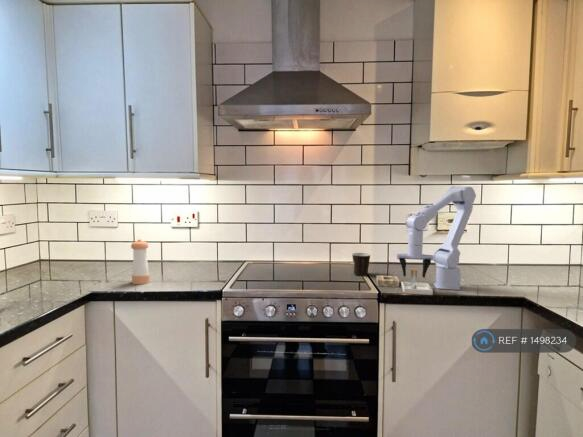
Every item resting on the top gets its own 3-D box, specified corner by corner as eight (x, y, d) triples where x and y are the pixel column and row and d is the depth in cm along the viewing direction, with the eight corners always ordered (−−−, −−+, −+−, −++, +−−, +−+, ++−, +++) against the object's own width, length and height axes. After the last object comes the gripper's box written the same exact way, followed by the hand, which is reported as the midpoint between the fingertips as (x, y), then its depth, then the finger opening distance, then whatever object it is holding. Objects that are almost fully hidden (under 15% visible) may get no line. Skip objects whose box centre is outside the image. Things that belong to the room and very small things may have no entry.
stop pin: (415, 288, 156) (416, 269, 156) (417, 289, 154) (417, 271, 153) (409, 288, 157) (410, 269, 156) (411, 289, 154) (411, 270, 154)
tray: (427, 287, 159) (427, 283, 159) (432, 295, 148) (432, 290, 148) (400, 286, 161) (401, 281, 161) (404, 293, 150) (404, 288, 150)
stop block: (396, 281, 169) (396, 276, 168) (398, 287, 160) (399, 281, 160) (376, 280, 170) (376, 275, 170) (377, 285, 161) (377, 280, 161)
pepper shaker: (130, 284, 160) (129, 241, 158) (133, 280, 167) (131, 238, 165) (148, 283, 162) (147, 240, 160) (150, 279, 169) (149, 238, 167)
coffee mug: (355, 271, 187) (355, 252, 186) (371, 273, 183) (372, 253, 182) (347, 276, 177) (347, 256, 176) (365, 278, 173) (365, 257, 172)
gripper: (431, 243, 156) (430, 275, 158) (396, 242, 159) (395, 273, 160) (435, 246, 149) (433, 279, 151) (397, 244, 152) (396, 277, 153)
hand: (413, 276), depth 155 cm, fingers open, 7 cm apart
